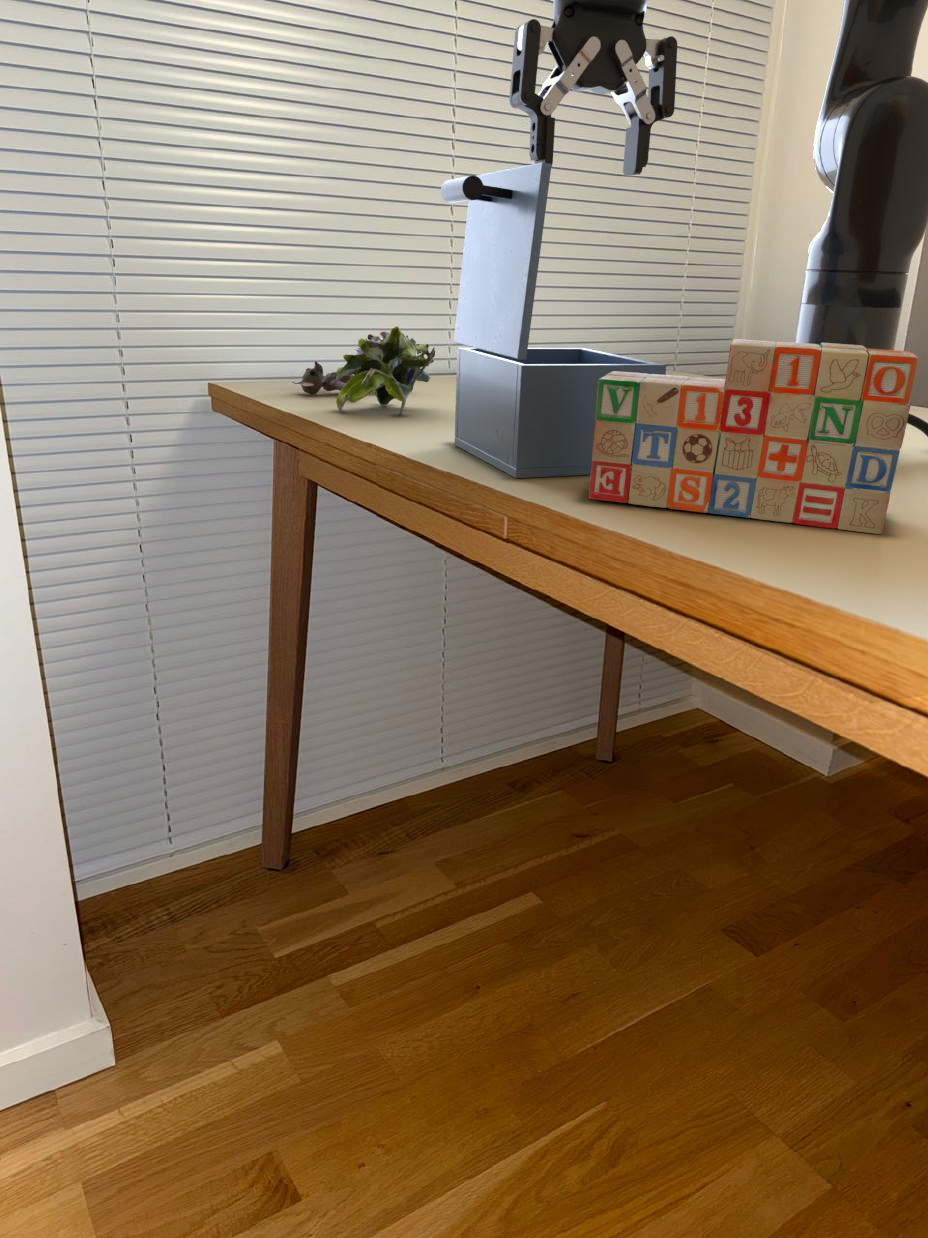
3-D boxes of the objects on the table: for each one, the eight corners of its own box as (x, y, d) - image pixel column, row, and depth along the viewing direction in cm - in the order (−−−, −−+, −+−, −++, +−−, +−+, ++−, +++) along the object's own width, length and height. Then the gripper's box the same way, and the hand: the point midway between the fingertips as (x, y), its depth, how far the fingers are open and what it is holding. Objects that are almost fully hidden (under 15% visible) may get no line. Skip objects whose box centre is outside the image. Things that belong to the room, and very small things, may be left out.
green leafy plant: (382, 449, 117) (426, 367, 118) (420, 448, 108) (467, 359, 109) (308, 399, 112) (354, 314, 113) (341, 394, 102) (391, 301, 103)
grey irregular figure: (427, 376, 120) (321, 366, 113) (424, 409, 121) (318, 402, 114) (373, 361, 135) (276, 352, 128) (371, 391, 136) (274, 384, 129)
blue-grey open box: (577, 440, 97) (584, 348, 94) (655, 471, 83) (666, 364, 80) (454, 444, 92) (457, 347, 89) (515, 478, 79) (521, 365, 76)
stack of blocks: (586, 501, 72) (599, 334, 67) (601, 485, 77) (615, 330, 73) (884, 534, 66) (921, 353, 61) (878, 514, 71) (911, 347, 67)
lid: (478, 177, 84) (424, 168, 82) (552, 163, 71) (488, 152, 69) (461, 343, 89) (409, 337, 87) (526, 359, 76) (466, 354, 74)
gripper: (541, -82, 68) (530, 163, 74) (706, -56, 73) (684, 173, 79) (502, -53, 75) (495, 170, 81) (656, -30, 80) (639, 179, 85)
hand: (588, 171), depth 80 cm, fingers open, 8 cm apart
